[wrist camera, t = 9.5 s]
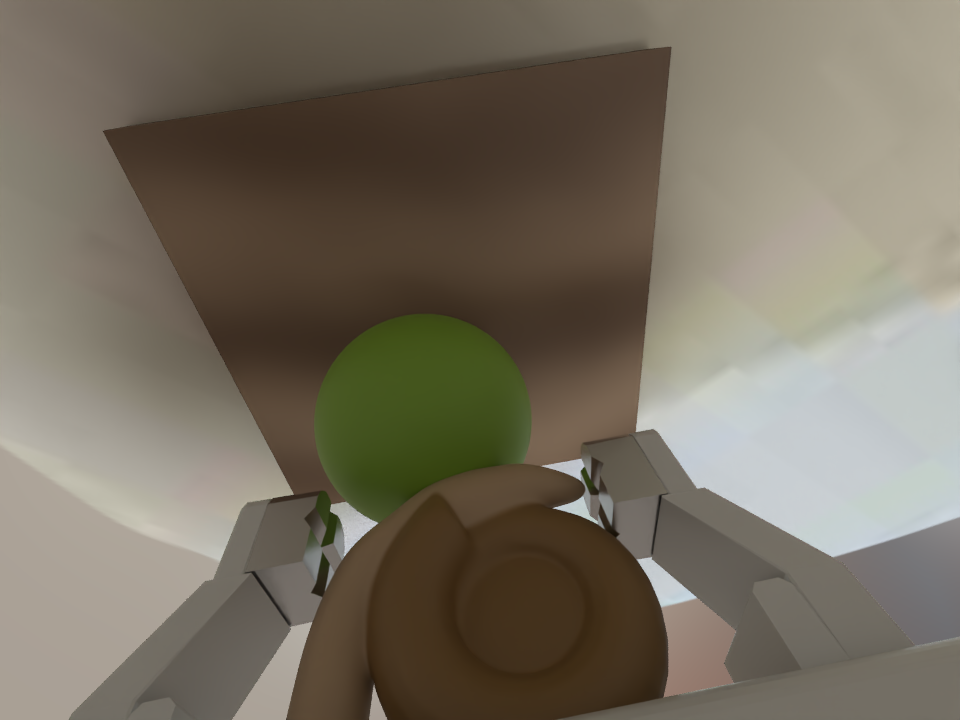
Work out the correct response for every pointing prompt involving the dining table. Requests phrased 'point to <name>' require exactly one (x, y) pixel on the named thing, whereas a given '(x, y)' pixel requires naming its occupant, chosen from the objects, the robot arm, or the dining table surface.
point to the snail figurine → (464, 549)
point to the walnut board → (422, 234)
